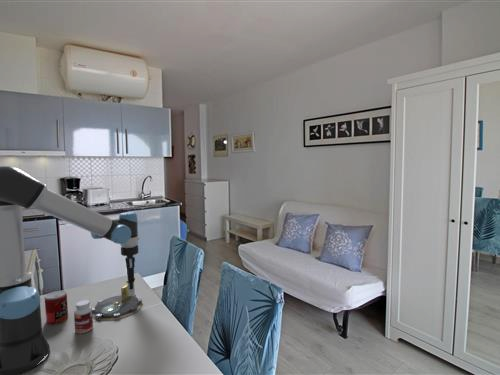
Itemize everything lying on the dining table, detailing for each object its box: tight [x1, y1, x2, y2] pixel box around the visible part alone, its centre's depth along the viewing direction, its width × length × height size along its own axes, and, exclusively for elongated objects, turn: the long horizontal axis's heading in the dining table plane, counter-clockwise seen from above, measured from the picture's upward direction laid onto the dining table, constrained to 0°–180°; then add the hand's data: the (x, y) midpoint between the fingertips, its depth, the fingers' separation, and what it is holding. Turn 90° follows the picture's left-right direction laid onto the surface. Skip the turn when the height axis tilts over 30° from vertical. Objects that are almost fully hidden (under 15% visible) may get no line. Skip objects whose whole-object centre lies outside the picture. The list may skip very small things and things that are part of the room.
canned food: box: [44, 290, 69, 325], centre depth 121 cm, size 8×8×11 cm
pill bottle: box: [73, 299, 94, 334], centre depth 114 cm, size 6×6×11 cm
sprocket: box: [92, 284, 143, 319], centre depth 130 cm, size 21×21×8 cm
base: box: [92, 302, 143, 321], centre depth 131 cm, size 21×21×1 cm
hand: (131, 294), depth 136 cm, fingers closed
